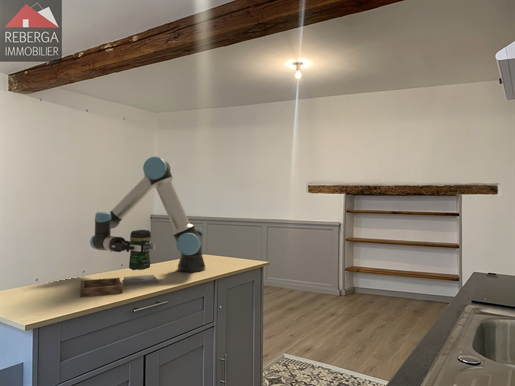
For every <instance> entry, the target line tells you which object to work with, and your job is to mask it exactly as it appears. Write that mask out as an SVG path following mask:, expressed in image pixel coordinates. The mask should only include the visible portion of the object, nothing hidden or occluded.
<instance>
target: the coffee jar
mask: <svg viewBox="0 0 515 386" xmlns="http://www.w3.org/2000/svg"><path fill="white" fill-rule="evenodd" d="M151 240H152V233H151V231H150V230H148V229H138V230H132V231H131V232H130V237H129V241H131V245H140V246H141V252H138V251H129V252H130V253H129V264H128V268H129V269H130V270H131V271H137V270H138V271H143V270H147V269H150V267H151V256H150V252H151V251H150V250H151V249H150V243H151Z"/></svg>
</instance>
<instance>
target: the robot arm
mask: <svg viewBox="0 0 515 386" xmlns="http://www.w3.org/2000/svg"><path fill="white" fill-rule="evenodd" d="M142 170H143V173H144V174H143V178H142V179H141V180H140V181H139V182H138V183H136V185H135V186H134V187H133V188H131V190H130V191H129V192H128V193H127V194H126V195H125V196H124V197H123V198H122V199H121V200H120V201H119V202H118V203H117V205H115V207H113V208H112V209H111V211H97V212H96V213H95V214H94V216H95V217H94V235H93V236H91V239H90V240H89V243H90V244H89V245H90V247H92V248H93V249H95V250H98V251H107V252H108V251H109V252H110V253H113V252H114V253H121V252H126V253H129V252H131V251H138V252H141V246H140V245H131V241H130V240H126V239H125V238H124V237H122V236H115V235H111V233H112V232H111V230H112V229H115V228H117V227H118V226H119V225H120V222H121V221H122V220H124V218H125V217H126V216H127V215H128V214H129V213H130V212H131V211H132V210H133V209H134V208H135V207H136V206H138V204H139V203H140V202H141V201H142V200H143V199H144V198H145V197H146V196H147V195H148V194H149V193H150V192H151V191H152V190H153V189H154V188H155V189H156V192H157V195H158V196H159V199H160V200H161V203H162V205H163V207H164V210H165V212H166V215H167V216H168V218H169V221H170V224H171V226H172V228H173V233H172V235H173V237H174V240H175V242H176V249H177V250H178V252H179V253H180V258H179V261H178V264H177V271H179V272H183V273H184V272H185V273H195V272H196V273H197V272H202V271H205V270H206V263H205V260H204V258H203V229H202V228H199V227H195V224H192V223H190V221H189V219H188V216H187V213H186V211H185V209H184V207H183V205H182V202H181V200H180V198H179V196H178V194H177V191H176V189H175V187H174V184H173V182H172V181H173V178H174V177H173V175H172V172H171V167H170V164H169V162H168V161H167V160H165V159H163V157H161V156H151V157H149V158H147V159H146V160H145V161H144V163H143V166H142ZM150 250H153V251H154V250H156V243H153V242H150Z"/></svg>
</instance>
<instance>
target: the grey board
mask: <svg viewBox="0 0 515 386" xmlns="http://www.w3.org/2000/svg"><path fill="white" fill-rule="evenodd" d="M123 281H124V283H125V285H126V286H137V285H151V284H158V283H159V279H158V278H157V277H156V276H155V275H154V274H144V275H142V274H141V275H132V276H131V275H129V276H123Z"/></svg>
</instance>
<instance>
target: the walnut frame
mask: <svg viewBox="0 0 515 386" xmlns="http://www.w3.org/2000/svg"><path fill="white" fill-rule="evenodd" d="M79 289H80V290H79V293H80V295H79V297H80V298H83V297H84V298H85V296H86V297H95V296H105V295H106V296H107V295H116V294H123V284H122V281H121V280H120V277H111V278H110V277H107V278H98V279H97V278H96V279H83V280H81V279H80V288H79Z"/></svg>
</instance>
